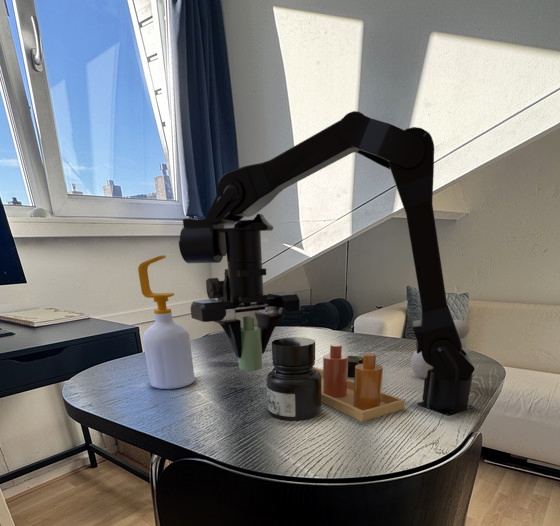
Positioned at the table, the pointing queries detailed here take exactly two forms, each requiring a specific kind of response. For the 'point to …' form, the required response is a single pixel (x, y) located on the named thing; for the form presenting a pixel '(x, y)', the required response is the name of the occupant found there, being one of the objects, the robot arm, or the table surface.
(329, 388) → the terracotta bottle
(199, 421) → the table surface
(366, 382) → the amber bottle
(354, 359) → the tape measure
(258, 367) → the sage bottle
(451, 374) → the robot arm
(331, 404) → the tray
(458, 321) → the perfume bottle
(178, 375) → the soap bottle
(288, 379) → the ink bottle
